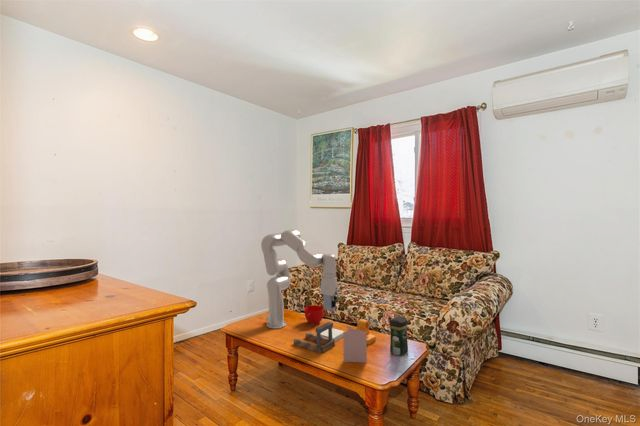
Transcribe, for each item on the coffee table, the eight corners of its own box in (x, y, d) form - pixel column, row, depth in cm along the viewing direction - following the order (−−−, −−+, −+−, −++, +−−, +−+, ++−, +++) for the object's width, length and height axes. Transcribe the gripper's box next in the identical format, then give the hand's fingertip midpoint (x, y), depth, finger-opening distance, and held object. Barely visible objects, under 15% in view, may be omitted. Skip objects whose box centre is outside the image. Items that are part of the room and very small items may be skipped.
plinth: (317, 337, 189) (316, 333, 189) (329, 331, 198) (328, 327, 198) (333, 342, 181) (333, 338, 181) (345, 335, 191) (345, 331, 191)
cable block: (323, 309, 189) (323, 294, 189) (328, 307, 193) (328, 292, 193) (330, 311, 186) (330, 295, 186) (335, 308, 190) (335, 293, 189)
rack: (293, 344, 180) (293, 338, 180) (307, 337, 190) (307, 332, 190) (321, 353, 168) (321, 347, 168) (334, 345, 177) (334, 340, 177)
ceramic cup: (298, 327, 206) (298, 311, 206) (309, 318, 222) (308, 304, 221) (317, 329, 201) (317, 313, 201) (326, 320, 217) (326, 306, 217)
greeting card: (367, 362, 158) (367, 331, 158) (359, 367, 153) (358, 336, 152) (349, 355, 166) (348, 326, 165) (340, 360, 160) (339, 330, 160)
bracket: (364, 346, 176) (364, 324, 176) (354, 342, 181) (354, 321, 181) (376, 340, 183) (376, 319, 183) (366, 337, 189) (366, 316, 188)
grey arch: (315, 345, 170) (315, 328, 170) (328, 338, 180) (328, 321, 180) (320, 346, 168) (319, 329, 168) (333, 339, 178) (333, 322, 178)
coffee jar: (396, 347, 174) (395, 313, 174) (410, 351, 169) (409, 316, 169) (387, 353, 167) (387, 318, 166) (401, 358, 162) (401, 321, 161)
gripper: (314, 274, 191) (314, 305, 192) (337, 278, 181) (337, 310, 181) (321, 272, 197) (322, 302, 197) (344, 276, 187) (345, 307, 187)
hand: (329, 305), depth 189 cm, fingers closed on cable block, 5 cm apart
